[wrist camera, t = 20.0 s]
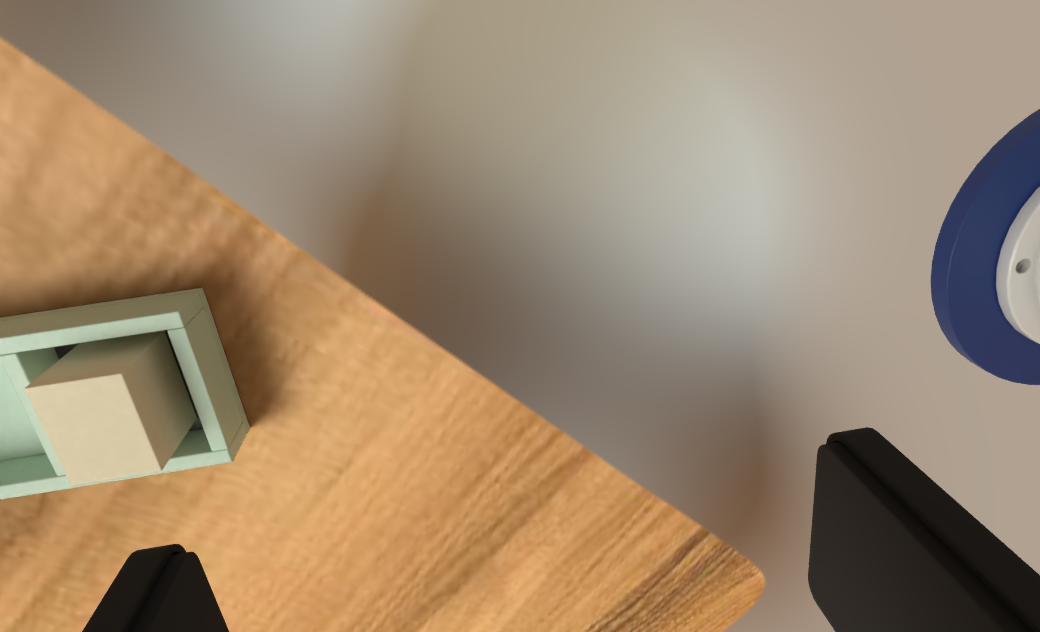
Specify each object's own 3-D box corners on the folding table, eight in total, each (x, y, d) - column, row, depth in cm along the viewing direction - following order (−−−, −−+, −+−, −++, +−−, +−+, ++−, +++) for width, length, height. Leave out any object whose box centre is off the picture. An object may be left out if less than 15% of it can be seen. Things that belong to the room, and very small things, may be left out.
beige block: (164, 329, 31) (121, 373, 27) (197, 418, 33) (162, 471, 29) (79, 342, 31) (22, 388, 27) (117, 430, 33) (70, 486, 29)
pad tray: (-129, 336, 30) (-188, 366, 28) (202, 287, 31) (178, 311, 28) (-48, 475, 34) (-94, 515, 31) (250, 428, 34) (233, 462, 32)
